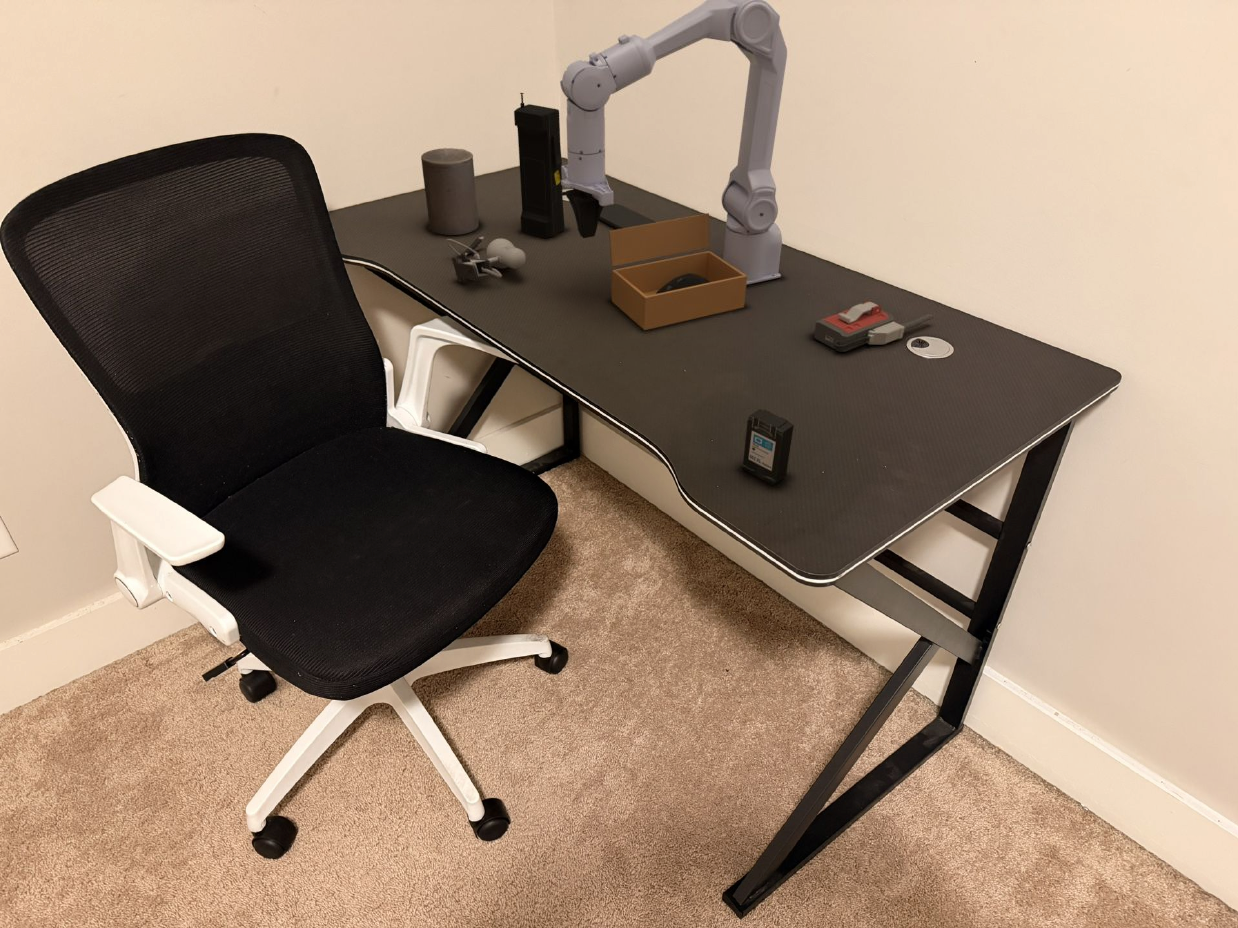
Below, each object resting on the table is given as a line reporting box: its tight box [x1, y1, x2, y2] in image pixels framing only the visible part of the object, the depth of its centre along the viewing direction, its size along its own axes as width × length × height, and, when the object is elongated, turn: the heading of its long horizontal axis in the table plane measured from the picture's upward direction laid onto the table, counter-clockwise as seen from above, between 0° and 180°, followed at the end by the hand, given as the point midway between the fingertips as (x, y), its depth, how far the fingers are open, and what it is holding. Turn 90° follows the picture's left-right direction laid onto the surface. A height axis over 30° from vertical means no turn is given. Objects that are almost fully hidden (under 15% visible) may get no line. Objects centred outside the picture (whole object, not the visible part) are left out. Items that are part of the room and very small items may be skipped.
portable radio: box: [513, 92, 566, 239], centre depth 160 cm, size 8×6×25 cm
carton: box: [611, 250, 747, 331], centre depth 141 cm, size 18×12×6 cm, turn 117°
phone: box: [599, 203, 657, 230], centre depth 172 cm, size 7×1×15 cm
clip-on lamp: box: [446, 236, 527, 283], centre depth 151 cm, size 12×6×18 cm
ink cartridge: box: [741, 408, 795, 486], centre depth 102 cm, size 5×2×8 cm, turn 46°
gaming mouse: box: [656, 273, 710, 294], centre depth 141 cm, size 6×15×4 cm, turn 127°
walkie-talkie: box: [813, 300, 934, 353], centre depth 133 cm, size 9×4×20 cm
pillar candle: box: [420, 147, 479, 236], centre depth 165 cm, size 10×10×15 cm
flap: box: [608, 212, 711, 267], centre depth 142 cm, size 18×6×1 cm
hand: (587, 236), depth 139 cm, fingers closed
